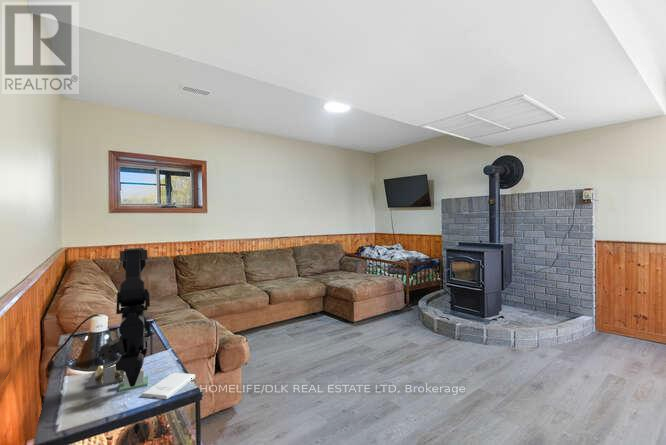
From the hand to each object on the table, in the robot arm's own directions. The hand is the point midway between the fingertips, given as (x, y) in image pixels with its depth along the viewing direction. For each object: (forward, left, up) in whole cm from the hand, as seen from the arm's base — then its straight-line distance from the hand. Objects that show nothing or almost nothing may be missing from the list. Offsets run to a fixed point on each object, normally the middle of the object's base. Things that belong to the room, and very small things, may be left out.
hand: (134, 381), depth 95 cm
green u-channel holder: (0, 0, -2) cm, 2 cm away
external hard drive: (+6, +10, -2) cm, 12 cm away
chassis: (-10, -8, -1) cm, 13 cm away
